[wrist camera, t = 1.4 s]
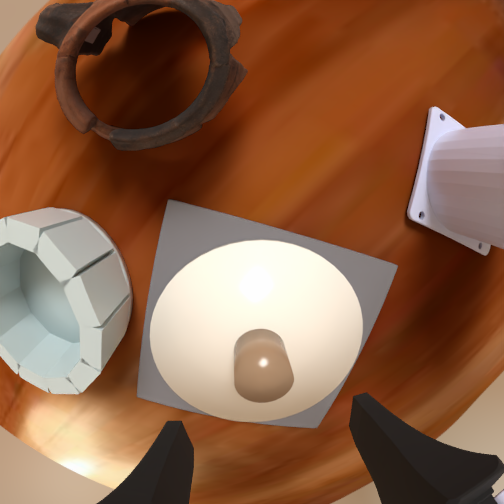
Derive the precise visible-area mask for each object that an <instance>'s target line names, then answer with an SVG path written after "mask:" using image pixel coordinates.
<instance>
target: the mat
mask: <svg viewBox="0 0 504 504" xmlns="http://www.w3.org/2000/svg"><path fill="white" fill-rule="evenodd" d="M252 239H269V240H280V241H284V242H289V243H293V244H296V245H299V246H302V247H305V248H307V249H309V250H311V251H313V252H315V253H317V254H319V255H320V256H322V257H323V258H324V259H326V260H327V261H329V262H330V263H331V264H332V265H334V266H335V267H336V268H337V269H338V270H339V271H340V272H341V273H342V274H343V275H344V276H345V278H346V279H347V281H348V282H349V283H350V285H351V286H352V288H353V290H354V292H355V294H356V296H357V298H358V301H359V304H360V308H361V313H362V319H363V333H362V340H361V345H360V349H359V352H358V355H357V357H356V359H355V362H356V360H357V358H358V356H359V354H360V352H361V350H362V348H363V346H364V344H365V342H366V340H367V338H368V336H369V334H370V332H371V330H372V328H373V325H374V323H375V321H376V319H377V317H378V314H379V312H380V310H381V307H382V305H383V303H384V300H385V298H386V296H387V293H388V291H389V288H390V286H391V283H392V281H393V278H394V275H395V273H396V270H397V267H398V266H397V265H395V264H393V263H390V262H387V261H384V260H381V259H377V258H374V257H371V256H368V255H365V254H362V253H359V252H355V251H352V250H349V249H346V248H342V247H339V246H336V245H333V244H329V243H326V242H323V241H320V240H316V239H313V238H310V237H306V236H303V235H299V234H296V233H293V232H289V231H286V230H282V229H279V228H275V227H272V226H268V225H265V224H261V223H258V222H254V221H251V220H247V219H243V218H240V217H236V216H233V215H229V214H225V213H222V212H218V211H214V210H210V209H207V208H203V207H199V206H195V205H192V204H188V203H184V202H180V201H176V200H172V199H168V202H167V206H166V210H165V215H164V219H163V223H162V228H161V232H160V237H159V242H158V246H157V251H156V256H155V261H154V267H153V272H152V278H151V283H150V289H149V295H148V301H147V308H146V315H145V322H144V329H143V337H142V345H141V354H140V364H139V374H138V386H137V397H139V398H142V399H146V400H149V401H152V402H156V403H159V404H163V405H167V406H171V407H174V408H178V409H183V410H187V411H191V412H196V413H200V414H205V415H210V414H208V413H205V412H203V411H201V410H199V409H197V408H195V407H193V406H192V405H190V404H188V403H187V402H186V401H184V400H183V399H182V398H181V397H179V396H178V395H177V394H176V393H175V392H174V391H173V390H172V389H171V388H170V387H169V385H168V384H167V383H166V382H165V380H164V379H163V377H162V376H161V374H160V372H159V370H158V368H157V366H156V364H155V361H154V359H153V355H152V351H151V345H150V324H151V320H152V315H153V311H154V309H155V306H156V304H157V301H158V299H159V297H160V296H161V294H162V292H163V291H164V289H165V287H166V286H167V284H168V283H169V282H170V280H171V279H172V278H173V277H174V276H175V275H176V273H177V272H178V271H180V270H181V269H182V268H183V267H184V266H185V265H186V264H187V263H189V262H190V261H192V260H193V259H195V258H196V257H198V256H199V255H201V254H203V253H205V252H207V251H209V250H211V249H213V248H216V247H219V246H222V245H225V244H228V243H232V242H237V241H242V240H252ZM355 362H354V364H355ZM354 364H353V366H354ZM353 366H352V367H351V369H350V371H349V372H348V374H347V375H346V377H345V378H344V379H343V381H342V382H341V383H340V384H339V385H338V386H337V387H336V388H335V389H334V390H333V391H332V392H331V393H330V394H329V395H327V396H326V397H325V398H324V399H322V400H321V401H319V402H318V403H316V404H315V405H313V406H311V407H310V408H308V409H306V410H304V411H302V412H299V413H296V414H294V415H291V416H288V417H284V418H281V419H276V420H271V421H262V422H252V423H260V424H268V425H278V426H290V427H305V428H317V427H318V425H319V424H320V422H321V421H322V419H323V418H324V416H325V415H326V413H327V411H328V410H329V408H330V406H331V405H332V403H333V401H334V400H335V398H336V396H337V395H338V393H339V391H340V389H341V388H342V386H343V384H344V382H345V381H346V379H347V377H348V375H349V373H350V372H351V370H352V368H353ZM210 416H213V415H210ZM215 417H216V416H215Z"/></svg>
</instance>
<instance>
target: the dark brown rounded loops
mask: <svg viewBox="0 0 504 504" xmlns="http://www.w3.org/2000/svg"><path fill="white" fill-rule="evenodd" d="M163 7H171V8H175V9H177V10H179V11H181V12H183V13H184V14H186V15H187V16H188V17H190V18H191V19H192V20H193V21H194V22H195V23H196V24H197V26H198V27H199V29H200V30H201V32H202V34H203V36H204V37H205V40H206V43H207V46H208V51H209V58H210V65H209V72H208V76H207V79H206V81H205V84H204V86H203V88H202V90H201V92H200V93H199V95H198V97H197V98H196V99H195V100H194V102H193V103H192V104H191V105H190V106H189V107H188V108H187V109H186V110H185V111H184V112H182V113H181V114H180V115H178V116H177V117H175V118H173V119H171V120H169V121H168V122H165V123H163V124H161V125H158V126H155V127H151V128H144V129H123V128H120V127H115V126H111V125H107V124H105V123H103V122H102V121H100V120H98V118H97V117H96V116H95V115H94V114H93V113H92V112H91V111H90V110H89V109H88V107H87V106H86V105H85V103H84V102H83V100H82V98H81V96H80V94H79V91H78V88H77V84H76V63H77V58H78V55H91V54H92V55H95V56H97V55H100V54H101V52H102V50H103V48H104V46H105V45H106V43H107V42H108V41H109V39H110V38H111V36H112V21H113V19H114V18H117V19H119V20H120V21H123V22H124V21H125V22H126V23H127V24H128V25H130V26H134V25H135V24H136V23H137V22H138V21H139V20H140V19H141V18H142V17H144V16H146V15H147V14H148V13H150V12H152V11H154V10H157V9H160V8H163ZM241 23H242V18H241V17H240V15H239V13H238V12H237V10H236V9H235V8H234V7H233V6H231V5H224V4H222V3H219V2H216V1H214V0H96V1H95V2H89V3H73V4H59V3H55V4H53V5H49V6H48V7H46V8H45V9H44V10H43V11H42V12H41V13H40V16H39V20H38V22H37V24H36V35H37V37H38V38H39V39H41V40H43V41H45V42H47V43H50V44H53V45H55V46H56V47H57V48H58V49H59V51H58V54H57V60H56V67H55V88H56V94H57V99H58V101H59V103H60V106H61V109H62V110H63V112H64V114H65V116H66V118H67V119H68V120H69V121H70V123H71V124H72V125H73V126H74V127H75V128H76V129H77V130H78V131H79V132H81V133H83V134H85V133H86V132H88V131H89V130H90V129H91V130H92V131H94V132H96V133H97V134H98V135H100V136H101V137H103V138H105V139H107V140H110V141H111V143H112V144H113V146H114V147H115V148H116V149H117V150H122V151H127V150H129V151H136V150H142V149H150V148H156V147H159V146H162V145H165V144H169V143H172V142H175V141H178V140H181V139H183V138H185V137H187V136H189V135H191V134H193V133H195V132H197V131H198V130H200V129H201V128H202V124H203V123H205V122H207V121H210V120H212V119H213V118H215V116H216V115H217V114H218V113H219V112H220V111H221V109H222V108H223V107H224V105H225V103H226V102H227V101H228V99H229V97H230V96H231V94H232V93H233V92H234V90H235V89H236V88H237V87H238V85H239V84H240V83H241V82H242V80H243V79H244V77H245V75H246V73H247V69H245V68H244V67H243V66H242V64H241V63H239V62H238V61H237V60H236V59H235V58H234V57H233V56H232V55H231V54H230V49H231V48H232V47H233V46H234V45H235V44H236V43H237V41H238V39H239V37H240V29H239V26H240V25H241Z"/></svg>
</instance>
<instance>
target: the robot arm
mask: <svg viewBox="0 0 504 504" xmlns="http://www.w3.org/2000/svg"><path fill="white" fill-rule="evenodd" d="M440 116H441V118H442V120H441V119H440ZM420 212H421V217H420V218H419V213H420ZM407 215H408V217H409V219H411V220H412V221H415V222H417V223H419V224H421V225H424V226H426V227H428V228H430V229H432V230H434V231H436V232H439V233H441V234H443V235H445V236H447V237H449V238H451V239H453V240H455V241H457V242H459V243H461V244H463V245H465V246H467V247H469V248H471V249H473V250H474V251H476V252H478V253H480V254H482V255H485V256H486V255H487V254H488V252H489V250H490V246H491V245H493V246H496V247H499V248H502V249H504V124H500V125H490V126H482V127H474V128H465V127H463V126H462V125H461V124H460V123H458V122H457V121H456V120H454V119H453V118H452V117H450V116H449V115H447V114H446V113H445V112H443V111H442V110H440V109H439V108H437V107H432V108H430V109H429V114H428V120H427V126H426V132H425V138H424V143H423V148H422V153H421V158H420V162H419V167H418V171H417V175H416V179H415V184H414V187H413V191H412V195H411V199H410V202H409V206H408V210H407ZM349 427H350V430H351V433H352V436H353V439H354V442H355V445H356V447H357V449H358V451H359V453H360V455H361V457H362V459H363V461H364V463H365V465H366V467H367V469H368V471H369V473H370V475H371V477H372V479H373V481H374V483H375V485H376V488H377V491H378V494H379V497H380V500H381V503H382V504H504V489H503V490H502V491H501V492H500V493H499V494H498V495H496V496H495V497H493V496H492V495H491V494H492V493H493V492H494V490H493V489H492V485H493V484H494V483H495V482H496V481H497V480H498V479H499V478H500V477H501V476H502V474H503V473H504V464H503V463H502V461H501V460H500V459H499V458H498V457H497V455H489V454H481V453H475V452H470V451H466V450H462V449H459V448H456V447H452V446H450V445H447V444H444V443H442V442H439V441H437V440H435V439H433V438H430V437H428V436H426V435H425V434H423V433H421V432H419V431H418V430H416V429H414V428H413V427H411V426H409V425H408V424H406V423H405V422H404V421H402V420H401V419H399V418H398V417H397V416H395V415H394V414H392V413H391V412H390V411H389V410H387V409H386V408H385V407H384V406H382V405H381V404H380V403H379V402H377V401H376V400H375V399H374V398H373V397H372V396H370V395H369V394H368V393H363V394H359V395H356V396H353V402H352V409H351V416H350V423H349ZM193 468H194V448H193V446H192V443H191V441H190V439H189V437H188V435H187V432H186V430H185V428H184V426H183V423H182V421H167V422H166V424H165V425H164V427H163V429H162V430H161V432H160V434H159V435H158V437H157V438H156V440H155V441H154V443H153V445H152V446H151V447H150V449H149V450H148V452H147V453H146V455H145V456H144V457H143V459H142V460H141V461H140V463H139V464H138V465H137V466H136V468H135V469H134V470H133V471H132V472H131V474H130V475H129V476H128V477H127V478H126V479H125V480H124V481H123V482H122V483H121V484H120V485H119V486H118V487H117V488H116V489H115V490H114V491H112V492H111V493H110V494H109V495H108V496H106V497H105V498H104V499H103V500H101V501H100V502H98V503H97V504H189V498H190V491H191V484H192V476H193Z"/></svg>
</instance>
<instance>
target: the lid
mask: <svg viewBox="0 0 504 504" xmlns="http://www.w3.org/2000/svg"><path fill="white" fill-rule="evenodd" d="M362 333H363V319H362V313H361V308H360V304H359V301H358V298H357V296H356V294H355V292H354V290H353V288H352V286H351V285H350V283H349V282H348V281H347V279H346V278H345V276H344V275H343V274H342V273H341V272H340V271H339V270H338V269H337V268H336V267H335V266H334V265H332V264H331V263H330V262H329V261H327V260H326V259H324V258H323V257H322V256H320V255H319V254H317V253H315V252H313V251H311V250H309V249H307V248H305V247H302V246H299V245H296V244H293V243H289V242H284V241H280V240H269V239H252V240H242V241H237V242H232V243H228V244H225V245H222V246H219V247H216V248H213V249H211V250H209V251H207V252H205V253H203V254H201V255H199V256H198V257H196V258H195V259H193V260H192V261H190V262H189V263H187V264H186V265H185V266H184V267H183V268H182V269H181V270H180V271H178V272H177V273H176V275H175V276H174V277H173V278H172V279H171V280H170V282H169V283H168V284H167V286H166V287H165V289H164V291H163V292H162V294H161V296H160V297H159V299H158V301H157V304H156V306H155V309H154V311H153V315H152V320H151V324H150V345H151V351H152V355H153V359H154V361H155V364H156V366H157V368H158V370H159V372H160V374H161V376H162V377H163V379H164V380H165V382H166V383H167V384H168V385H169V387H170V388H171V389H172V390H173V391H174V392H175V393H176V394H177V395H178V396H179V397H181V398H182V399H183V400H184V401H186V402H187V403H188V404H190V405H192V406H193V407H195V408H197V409H199V410H201V411H203V412H205V413H208V414H210V415H213V416H216V417H219V418H223V419H228V420H232V421H241V422H262V421H271V420H276V419H281V418H284V417H288V416H291V415H294V414H296V413H299V412H302V411H304V410H306V409H308V408H310V407H311V406H313V405H315V404H316V403H318V402H319V401H321V400H322V399H324V398H325V397H326V396H327V395H329V394H330V393H331V392H332V391H333V390H334V389H335V388H336V387H337V386H338V385H339V384H340V383H341V382H342V381H343V379H344V378H345V377H346V375H347V374H348V372H349V371H350V369H351V367H352V366H353V364H354V362H355V359H356V357H357V355H358V352H359V349H360V345H361V340H362Z"/></svg>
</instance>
